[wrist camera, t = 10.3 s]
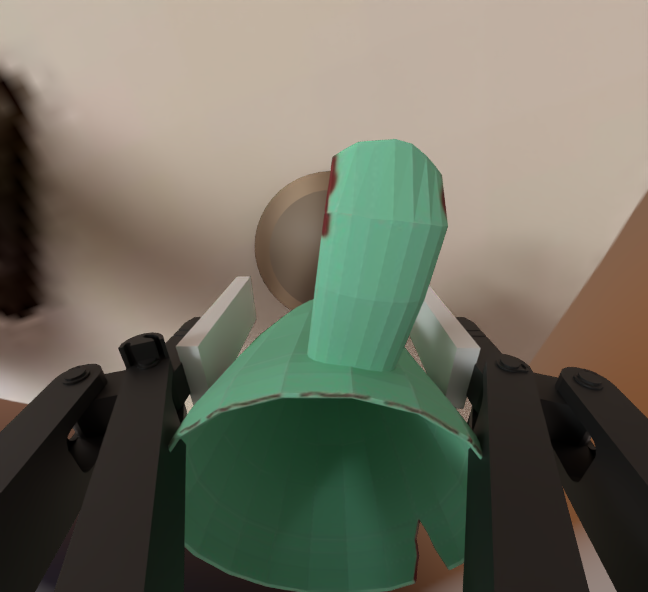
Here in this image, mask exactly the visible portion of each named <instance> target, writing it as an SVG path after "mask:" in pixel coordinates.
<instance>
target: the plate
mask: <svg viewBox="0 0 648 592" xmlns="http://www.w3.org/2000/svg"><path fill="white" fill-rule="evenodd" d="M329 178H330V171H326V172H318V173H314V174H309V175H307V176H304V177H301V178H299V179H297V180H295V181H293V182H292V183H290V184H288V185H287V186H286V187H284V188H283V189H282V190H280V191H279V192H278V193H277V194H276V195H275V196H274V197H273V198H272V200H271V201H270V202H269V204H268V205H267V207H266V208H265V210H264V212H263V214H262V216H261V218H260V221H259V224H258V226H257V231H256V236H255V257H256V262H257V266H258V269H259V272H260V275H261V277H262V279H263V281H264V283H265V284H266V286H267V288H268V289H269V290H270V292H271V293H272V294H273V295H274V296H275V298H277V299H278V300H279V301H280V302H281V303H282V304H283V305H285V306H286V307H287V308H289V309H290V310H293V309H295V308H296V307H298V306H300V305H302V304H304V303H306V302H308V301H310V300H313V299H314V293H315V284H316V276H317V268H318V260H319V251H320V243H321V235H322V227H323V219H324V210H325V204H326V197H327V191H328V184H329Z"/></svg>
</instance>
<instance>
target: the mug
mask: <svg viewBox="0 0 648 592" xmlns="http://www.w3.org/2000/svg"><path fill="white" fill-rule="evenodd" d="M447 228H448V223H447V215H446V206H445V198H444V190H443V181H442V175H441V173H440V172H439V171H438V169H437V168H436V166H435V165H434V164H433V163H432V162H431V161H430V159H429V158H428V157H427V156H426V155H425V154H424V153H422V152H421V151H420V150H419V149H418V148H416V147H415V146H414V145H413V144H411V143H407V142H404V141H400V140H396V139H391V140H376V141H364V142H357V143H355V144H354V145H352V146H350V147H348V148H346V149H344V150H343V151H341V152H340V153H338V154H336V155H335V156H333V158H332V165H331V171H330V178H329V184H328V191H327V197H326V204H325V210H324V219H323V227H322V235H321V243H320V251H319V260H318V268H317V276H316V284H315V293H314V299H313V300H310V301H308V302H306V303H304V304H302V305H300V306H298V307H296V308H295V309H293V310H292V311H291V312H289V313H288V314H286V315H285V316H283V317H282V318H281V319H279V320H278V321H277V322H276V323H274V324H273V325H272V326H271V327H269V328H268V329H267V330H266V331H264V332H263V333H262V334H260V335H259V336H258V337H257V338H256V339H255V340H254V341H253V342H252V343H251V344H250V346H249V347H248V348H247V349H246V350H245V351H244V352H243V353H242V354H241V355H240V356H239V357H238V358H237V359H236V360H235V361H234V362H233V363H232V364H231V365H230V366H229V368H228V369H227V370H226V371H225V372H224V373H223V374H222V375H221V376H220V377H219V378H218V380H217V381H216V382H215V383H214V384H213V385H212V386H211V387H210V388H209V389H208V390H207V392H206V393H205V394H204V395H203V396H202V397H201V398H200V399H199V400H198V401H197V402H196V403H195V405H194V406H193V407H192V409H191V410H190V411H189V413H188V414H187V415H186V417H185V419H184V420H183V422H182V423H181V425H180V426H179V428H178V429H177V431H176V432H175V434H174V436H173V437H172V439H171V441H170V443H169V445H168V449H169V451H170V452H171V451H172V450H173V448H174V447H175V445H176V444H177V442H178V441H179V439H182V440H183V441H184V443H185V444H186V485H185V545H184V546H185V547H186V548H187V549H188V550H189V551H190V552H191V553H192V554H193V555H195V556H197V557H198V558H200V559H202V560H204V561H206V562H207V563H209V564H211V565H213V566H215V567H217V568H218V569H220V570H222V571H224V572H226V573H228V574H230V575H233V576H237V577H239V578H243V579H245V580H248V581H252V582H255V583H257V584H261V585H264V586H267V587H273V588H278V589H284V590H290V591H296V592H381V591H391V590H394V589H397V588H401V587H404V586H407V585H411V584H414V583H415V582H416V579H417V566H418V559H419V552H418V545H417V534H418V528H419V523H420V522H421V523H422V525H423V526H424V528H425V530H426V531H427V533H428V535H429V537H430V539H431V542H432V544H433V546H434V548H435V550H436V551H437V553H438V554H439V556H440V557H441V559H442V561H443V562H444V564H445V565H446V567H447V568H448V569H449V570H451V569H453V568H455V567H457V566H459V565H461V564H463V563H464V550H465V524H466V498H467V473H468V449H469V448H470V447H471V448H472V450H473V451H474V452H475V453H476V455H477V456H478V457H479V458H480V460H481V458H482V455H483V453H482V449H481V446H480V443H479V440H478V438H477V436H476V434H475V433H474V432H473V430H472V429H471V428H470V426H469V425H468V424H467V423H466V421H465V420H464V419H463V417H462V416H461V415H460V414H459V412H458V411H457V410H456V408H455V407H454V406H453V405H452V403H451V402H450V401H449V400H448V398H447V397H446V396H445V395H444V394H443V393H442V391H441V390H440V389H439V388H438V387H437V385H436V384H435V383H434V382H433V381H432V380H431V378H430V377H429V376H428V375H427V374H426V373H425V371H424V370H423V369H422V368H421V367H420V366H419V364H418V363H417V362H416V361H415V360H414V358H413V357H412V356H411V355H410V353H409V352H408V351H407V350H406V348H405V344H406V342H407V339H408V337H409V335H410V332H411V330H412V328H413V325H414V323H415V321H416V318H417V316H418V314H419V311H420V309H421V306H422V304H423V302H424V299H425V296H426V293H427V290H428V287H429V284H430V281H431V278H432V275H433V271H434V268H435V265H436V262H437V259H438V256H439V253H440V250H441V246H442V243H443V240H444V237H445V234H446V231H447Z"/></svg>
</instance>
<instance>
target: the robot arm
mask: <svg viewBox="0 0 648 592" xmlns="http://www.w3.org/2000/svg"><path fill="white" fill-rule="evenodd" d="M255 320H256V312H255V305H254V298H253V291H252V283H251V276H237V277H236V278H235V279H234V280H233V282H232V283H231V284H230V285H229V286H228V287H227V288H226V290H225V291H224V292H223V293H222V294H221V295H220V296H219V298H218V299H217V300H216V301H215V302H214V303H213V304H212V306H211V307H210V308H209V309H208V310H207V311H206V312H205V314H204V315H203V316H202V317H194V318H193V319H191V320H189V321H187V322H186V323H184V324H183V326H182V327H181V328H180V329H179V331H177V332H176V333H175V334H174V336H172V337H171V338H170V339H169V340H168V341H167V342H166V343H165V341H164V338H163V335H161V334H159V333H144V334H141V335H137V336H135V337H132V338H130V339H128V340H126V341H125V342H124V343H122V344H121V345H120V347H119V348H118V349H119V352H120V354H121V356H122V359H123V361H124V364H125V366H126V370H124V371H119V372H114V373H109V374H104V373H103V371H102V368H101V366H99V365H97V364H87V365H82V366H77V367H75V368H72V369H69V370H68V371H66V372H64V373H62V374H61V375H59V376H58V377H57V378H55V379H54V380H53V381H52V382H51V383H50V384H49V385H48V386H47V387H46V388H45V389H44V390H43V391H42V392H41V393H40V394H39V395H38V396H37V397H36V398H35V399H34V400H33V401H32V402H31V403H29V404H28V405H27V407H25V408H24V409H23V410H22V411H21V412H20V413H19V414H18V416H16V417H15V418H14V419H13V420H12V421H11V422H10V423H9V424H8V425H7V426H6V427H5V428H4V429H3V430H2V431H1V432H0V592H35V591H36V589H37V588H38V585H39V584H40V582H41V580H42V578H43V577H44V575H45V573H46V571H47V569H48V568H49V566H50V564H51V562H52V560H53V559H54V557H55V555H56V553H57V551H58V549H59V548H60V546H61V544H62V542H63V541H64V539H65V537H66V535H67V533H68V532H69V530H70V528H71V526H72V524H73V523H74V520H75V519H76V517H77V515H78V514H79V516H78V519H77V522H76V526H75V528H74V532H73V535H72V538H71V541H70V544H69V547H68V550H67V553H66V557H65V559H64V563H63V566H62V569H61V572H60V575H59V578H58V581H57V584H56V587H55V590H54V592H184V545H185V485H186V444H185V443H184V441H183V440H182V439H179V441H178V442H177V444H176V445H175V447H174V448H173V450H172V451H171V452H170V451H169V449H168V445H169V443H170V441H171V439H172V437H173V436H174V434H175V432H176V431H177V429H178V428H179V426H180V425H181V423H182V422H183V420H184V419H185V417H186V415H187V410H186V407H185V404H184V402H185V401H186V399H187V398H188V396H189V394H190V395H191V399H192V402H193V405H195V403H196V402H197V401H198V400H199V399H200V398H201V397H202V396H203V395H204V394H205V393H206V392H207V390H208V389H209V388H210V387H211V386H212V385H213V384H214V383H215V382H216V381H217V380H218V378H219V377H220V376H221V375H222V374H223V373H224V372H225V371H226V370H227V369H228V368H229V366H230V365H231V364H232V363H233V362H234V361H235V360H236V358H237V356H238V354H239V352H240V350H241V348H242V346H243V344H244V342H245V340H246V338H247V336H248V334H249V332H250V330H251V328H252V326H253V324H254V322H255ZM410 338H411V340H412V342H413V344H414V346H415V349H416V351H417V353H418V355H419V357H420V360H421V362H422V364H423V366H424V368H425V370H426V373H427V375H428V376H429V377H430V378H431V380H432V381H433V382H434V383H435V384H436V385H437V387H438V388H439V389H440V390H441V391H442V393H443V394H444V395H445V396H446V397H447V398H448V400H449V401H450V402H451V403H452V405H453V406H454V407H455V408H459V409H463V408H464V405H465V401H466V398H467V397H468V399H469V401H470V403H471V404H472V409H471V412H470V416H469V419H468V422H467V424H468V425H469V426H470V428H471V429H472V430H473V432H474V433H475V434H476V436H477V438H478V440H479V443H480V446H481V449H482V453H483V455H482V458H481V460H480V458H479V457H478V456H477V455H476V453H475V452H474V451H473V450H472V448H471V447H470V448H469V449H468V473H467V498H466V524H465V550H464V576H463V592H589V588H588V584H587V580H586V577H585V573H584V569H583V565H582V561H581V557H580V553H579V549H578V545H577V541H576V538H575V534H574V530H573V526H572V522H571V518H570V514H569V510H568V507H567V503H566V499H565V496H564V491H563V488H564V490H565V492H566V494H567V496H568V498H569V500H570V502H571V504H572V506H573V508H574V510H575V512H576V514H577V515H578V517H579V519H580V521H581V523H582V525H583V527H584V529H585V531H586V533H587V535H588V537H589V538H590V541H591V542H592V544H593V546H594V548H595V550H596V552H597V554H598V556H599V558H600V560H601V562H602V564H603V566H604V567H605V569H606V571H607V573H608V575H609V577H610V579H611V581H612V583H613V585H614V587H615V589H616V591H617V592H648V418H647V417H646V416H645V415H643V413H641V411H639V409H637V407H636V406H635V405H634V404H633V403H632V402H631V401H630V400H629V399H628V398H627V397H626V396H625V395H624V394H623V393H622V392H621V391H620V390H619V389H617V387H616V386H615V385H613V384H612V383H611V382H610V381H608V380H607V379H606V378H604V377H602V376H600V375H598V374H597V373H595V372H592V371H590V370H586V369H581V368H577V367H567V368H564V369H562V371H561V373H560V376H559V377H558V378H557V377H552V376H547V375H542V374H537V373H533V371H532V370H531V368H530V366H528V365H527V364H526V363H525V362H523V361H522V360H520V359H518V358H516V357H513V356H510V355H506V354H502V353H501V352H500V351H499V350H498V349H497V348H496V346H495V345H494V344H493V343H492V342H491V341H490V340H489V339H488V338H487V337H486V335H485V334H484V333H483V332H482V331H481V330H480V329H479V328H478V327H477V326H476V324H475V323H473V322H472V321H470V320H468V319H466V318H465V317H455V316H454V315H453V314H452V313H451V311H450V310H449V309H448V308H447V307H446V305H445V304H444V303H443V302H442V300H441V299H440V298H439V297H438V296H437V294H436V293H435V292H434V291H433V289H432V288H431V287H430V286H429V287H428V290H427V293H426V296H425V299H424V302H423V304H422V306H421V309H420V311H419V314H418V316H417V318H416V321H415V323H414V325H413V328H412V330H411V332H410ZM72 428H73V429H74V430H75V434H74V435H73V436H72V438H71V439H68V438H67V437H68V434H69V433H70V431H71V429H72ZM591 437H592V439H593V440H594V443H595V446H596V447H595V446H594V445H593V443H592V442H591V441H590V439H591ZM562 486H563V487H562ZM79 512H80V513H79Z"/></svg>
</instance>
